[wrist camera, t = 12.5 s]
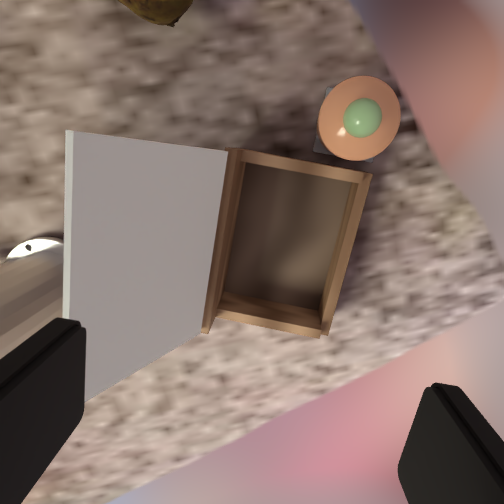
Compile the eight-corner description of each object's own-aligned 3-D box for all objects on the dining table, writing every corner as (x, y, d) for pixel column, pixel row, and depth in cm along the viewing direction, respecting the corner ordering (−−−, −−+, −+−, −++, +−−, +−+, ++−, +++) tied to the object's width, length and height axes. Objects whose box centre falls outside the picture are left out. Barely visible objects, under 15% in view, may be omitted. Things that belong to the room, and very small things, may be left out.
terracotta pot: (320, 85, 33) (334, 60, 24) (385, 97, 33) (424, 76, 24) (306, 152, 35) (313, 152, 26) (367, 164, 35) (396, 168, 25)
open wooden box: (156, 283, 41) (20, 422, 20) (171, 135, 36) (12, 115, 15) (324, 318, 40) (364, 500, 19) (363, 171, 35) (475, 203, 14)
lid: (200, 333, 32) (195, 330, 32) (228, 151, 27) (221, 150, 28) (67, 412, 21) (61, 407, 21) (73, 131, 16) (65, 129, 17)
